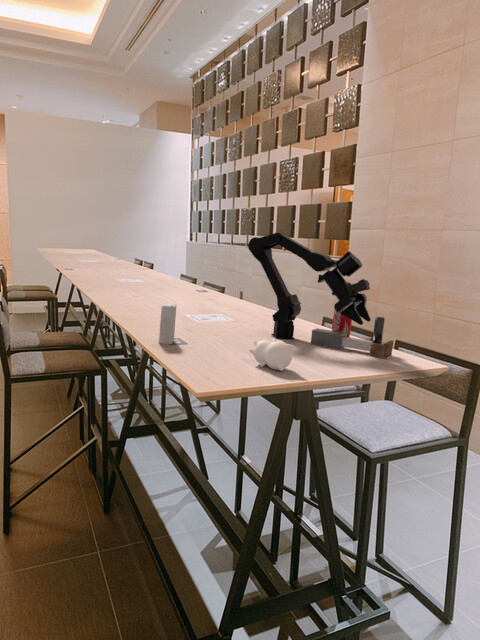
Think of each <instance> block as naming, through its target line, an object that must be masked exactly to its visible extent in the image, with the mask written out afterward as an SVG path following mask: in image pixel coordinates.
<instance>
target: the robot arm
mask: <svg viewBox="0 0 480 640" xmlns="http://www.w3.org/2000/svg"><path fill="white" fill-rule="evenodd" d="M277 246H280V247H282V248H283V249H285V250H287V251H288V252H291V254H294V255H295V256H297V257H299V258H300V259H302V260H304V262H305V263H306V264H307V266H308V267H310V268H311V269H312V270H314V271H315V272H317V273H319V272H325V273H323V274H318V279H317V283H318V284H322V283H324V282H325V284H326V285H327V286H328V287H329V289H330V290H331V295H332V296H335V298H337V300H338V301H336V303H334V307H333V309H334V310H336V311H337V313H338V312H340V314H342V315H344V316H346V317H348V318H349V319H351V320H352V321H353V322H354V323H356V324H358V325H360V326H362V325H363V324H364V321H363V320H365V321H366V322H368V323H369V322H371V321H372V320H371V317H370V314H369V311H368V310H367V306H366V304H367V300H368V297H367V295H366V294H365V293H362V292H364V291H369V290H371V288H370V282H369V280H368V279H367V280H366V279H365V278H361V279H358V282H356V283H351V282H349V281H348V282H347V280H346V279H345V278H344V277H348V278H350V277H351V276H352V275H354V274H355V273H356V272H357V271H358V270H361V268H362V267H363V263H362V261H361V260H360V259H359V258H358V257H357V256H356V255H354V254H353V253H352V252H351V251H349V250H348V251H346V253H344V255H343V256H342V257H341V258H339V259H338V260H335V259H333V258H332V257H331V256H330V255H329V254H324V253H322V252H319V251H316V250H312V249H310V248H309V247H307V246H305V245H303V244H301V243H299V242H298V241H296V240H294V239H292V238H291V237H289V236H287V235H286V233H283V232H274V233H272V234H269V235H268V234H267V235H265V236H262V237H252V238H250V240H249V241H248V244H247V248H248V250H249V252H250V253H251V254H252V257H254V258H255V260H257V261H258V263H260V265H261V268H262V269H263V272H264V273H265V276H266V278H267V279H268V282H269V284H270V285H271V288H272V289H273V292H274V295H275V297H276V303H277V304H276V305H277V308H278V310H277V311H275V312H274V313H273V314H272V320H273V322H274V323H273V333H271V336H272V337H274V338H276V339H279V340H280V339H281V340H283V339H286V340H291V339H292V340H294V339H295V337H294V332H295V325H294V321H295V320H296V318H297V317H298V316H299V315H300V313H301V311H302V307H301V305H302V303H301V302H300V300H299V298H298V295H297V294H291V293H290V292H289V290H288V287H287V286H286V284H285V281H284V279H283V277H282V275H281V273H280V271H279V269H278V267H277V265H276V263H275V260H274V259H273V250H272V249H273V248H276V247H277ZM331 268H333V269H332V270H331ZM341 310H343V311H342V312H341Z"/></svg>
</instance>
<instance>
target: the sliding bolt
mask: <svg viewBox="0 0 480 640" xmlns="http://www.w3.org/2000/svg"><path fill="white" fill-rule="evenodd" d="M385 320H386V318H385V317H383V316H375V318H374V327H373V334H372V340H368V339H362V338H356V337H352V336H351V337H345V336H342V338H341V346H343V347H344V348H349V349H353V350H360V351H364V352H365V351H366V352H370V349H371V344H377V345H383V346H385V343H386V342H383V334H384V327H385ZM382 342H383V343H382Z"/></svg>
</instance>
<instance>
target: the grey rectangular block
mask: <svg viewBox="0 0 480 640" xmlns="http://www.w3.org/2000/svg"><path fill="white" fill-rule="evenodd" d="M310 336H311V337H310V345H313V344H314V346H318V345H320V346H319V347H324V346H325V348H329V347H330V349H334V348H335V350H342V349H344V348H343V346H341V338H342V336H346V333H342V332H336V331H332V330H331V329H329V330H328V329H323V328H318V327H317V328H314V329H312V330H311V335H310ZM341 348H342V349H341Z"/></svg>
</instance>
